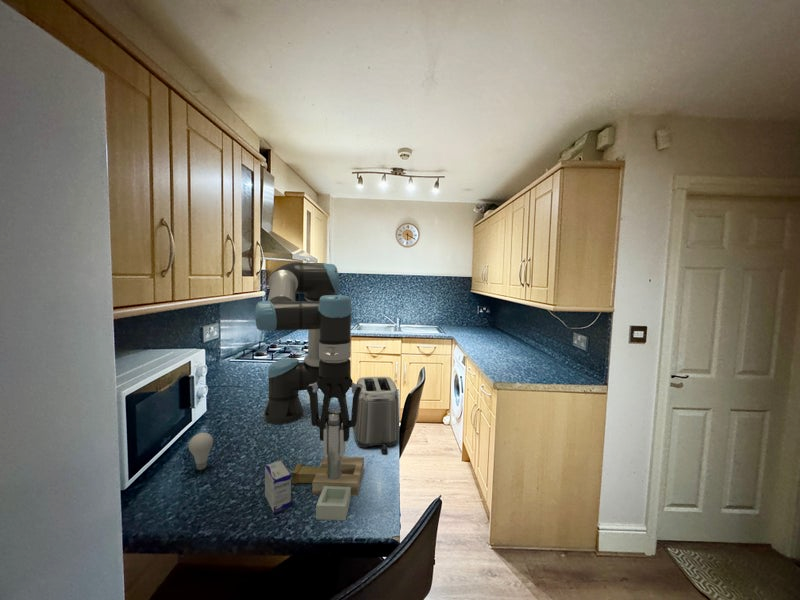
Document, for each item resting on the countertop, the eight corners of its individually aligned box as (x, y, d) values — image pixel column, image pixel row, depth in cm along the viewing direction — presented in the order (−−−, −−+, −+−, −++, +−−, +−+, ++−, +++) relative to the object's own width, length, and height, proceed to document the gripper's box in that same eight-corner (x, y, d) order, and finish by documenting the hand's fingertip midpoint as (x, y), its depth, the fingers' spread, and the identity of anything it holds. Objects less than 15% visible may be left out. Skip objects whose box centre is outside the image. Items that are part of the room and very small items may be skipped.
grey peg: (324, 479, 76) (324, 415, 75) (328, 470, 79) (328, 408, 78) (340, 480, 75) (340, 415, 74) (343, 470, 79) (344, 409, 78)
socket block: (357, 495, 83) (357, 483, 83) (312, 494, 83) (312, 481, 83) (363, 468, 95) (363, 457, 95) (324, 467, 95) (324, 456, 95)
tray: (316, 519, 75) (316, 505, 74) (324, 498, 82) (324, 486, 81) (345, 520, 75) (345, 506, 74) (350, 499, 82) (350, 486, 81)
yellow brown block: (324, 484, 87) (325, 473, 87) (292, 483, 87) (292, 472, 87) (329, 474, 92) (329, 464, 91) (297, 473, 92) (297, 463, 92)
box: (292, 506, 79) (291, 473, 78) (273, 514, 76) (273, 480, 76) (281, 489, 85) (281, 459, 84) (264, 496, 82) (264, 465, 82)
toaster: (392, 415, 132) (393, 371, 131) (404, 454, 103) (405, 398, 102) (352, 417, 130) (353, 372, 129) (352, 458, 101) (353, 400, 99)
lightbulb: (187, 478, 89) (186, 440, 88) (191, 466, 95) (190, 430, 94) (211, 473, 92) (211, 436, 91) (214, 461, 97) (214, 427, 96)
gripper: (295, 362, 72) (296, 460, 73) (366, 364, 72) (365, 462, 73) (306, 354, 80) (306, 444, 81) (370, 356, 79) (369, 445, 81)
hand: (334, 452), depth 77 cm, fingers closed on grey peg, 3 cm apart
